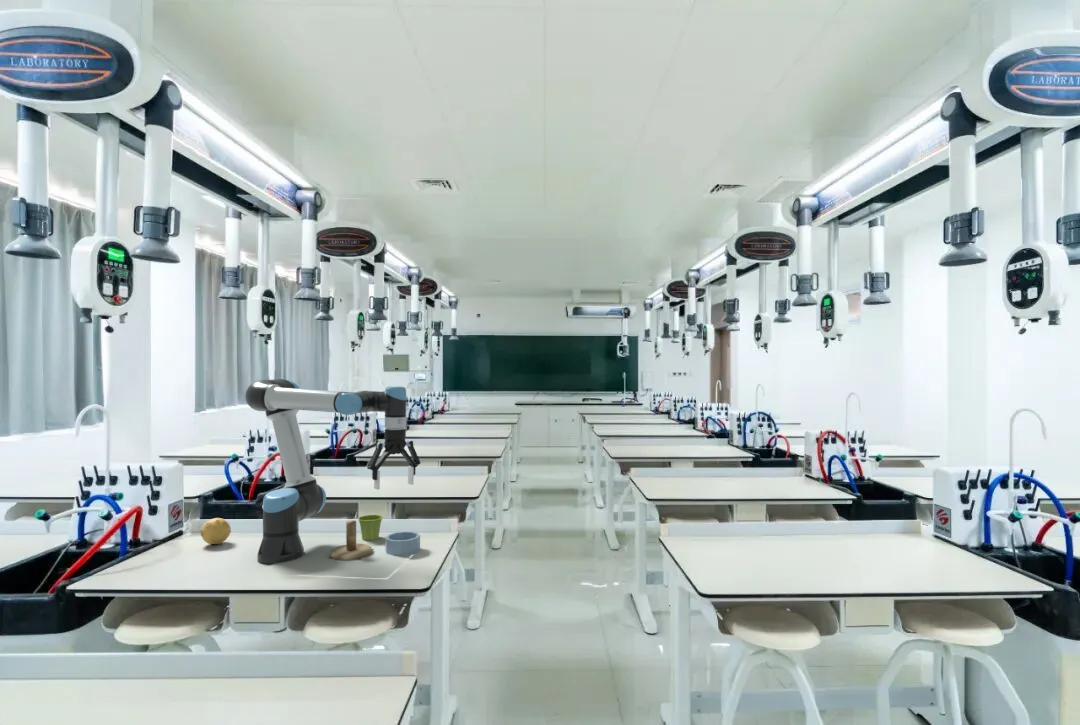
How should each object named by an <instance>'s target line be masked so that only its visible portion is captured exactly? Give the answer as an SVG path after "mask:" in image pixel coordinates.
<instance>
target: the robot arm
mask: <svg viewBox="0 0 1080 725" xmlns="http://www.w3.org/2000/svg"><path fill="white" fill-rule="evenodd" d="M244 395H245V396H244V397H245V401H246V403H247V405H248V406H249V407H250V408H251V409H252V410H254V411H258V412H265V416H266V418H267V419H268V420H270V421H271V422H272V426H273V431H274V434H275V438H276V443H277V447H278V451H279V455H280V459H281V463H282V467H283V471H284V476H285V480H286V482H285V485H284V486H283V488H279V489H275V490H272V491H269V492H268V493H266V494H265V495H264V497H263V500H262V505H261V506H262V508H261V509H262V540H261V543H260V546H259V549H258V552H257V556H256V557H257V558H256V559H257V562H258V563H261V564H264V565H272V564H278V563H286V562H291V561H295V560H297V559H300V558H301V557H303V556H304V555H305V549H304V548H305V546H304V545H303V542H302V539H301V536H300V532H299V530H300V529H299V528H300V527H299V526H300V523H299V522H301V521H303V520H306V519H307V518H313V517H314V516H316V515H318V513H320V512H321V511H322V510H323V508H324V506H326V502H327V494H326V491H325V489H324V487H322V486H321V485H320V484H318V483H317V479H316V477H314V476H312V475H311V471H310V468H309V464H308V459H307V456H306V453H305V447H304V444H303V439H302V435H301V431H300V426H299V422H298V419H297V418H298V417H297V414H298V412H299V411H308V412H309V411H310V412H321V413H322V412H325V413H335V414H337V413H338V414H341V415H344V416H345V415H346V416H353V415H355V414H362V413H369V412H375V413H376V412H377V413H378V412H382V413H384V428H385V429H384V443H383V442H376V443H375V450H374V451H373V453H372V456H371V458H370V460H369V462H368V465H367V467H366V468H367V469H368V470H370V471H372V472H371V473H372V474H371V478H372V480H373V486H374V487H373V488H374V489H375V490H380V489H381V486H380V485H381V470H379V469H380V468H381V467H382V465H383V463H384V462H385V461H386V460H387V458H388V457H389V456H391V455H399V454H401V455H402V457H403V459H405V461H406V462H407V463H408V464H409V465H408V466H407V468H408V469H407V470H408V471H407V484H408V485H411V486H412V485H414V479H415V478H414V476H416V468H417V467H418V465H421V460H420V458H419V456H418V454H417V451H416V449H415V447H414V441H413V440H410V439H407V440H406V437H407V436H406V435H407V433H406V432H407V430H406V427H407V401H408V400H407V387H404V386H399V385H398V386H397V385H396V386H390V385H389V386H386V387H385V390H384V391H379V390H378V391H375V390H373V391H372V390H358V391H357V392H356V391H355V392H353V391H352V392H351V391H350V392H349V391H336V390H334V391H333V390H321V389H308V388H307V389H306V388H300V387H299V385H297V383H295V382H294V381H292V380H290V379H283V378H277V379H259V380H256V381H253V382H252V383H251V384H250V385H249V386H248V387H247V389H246V391H245V394H244ZM405 447H407V449H408V451H407V450H406V449H405ZM383 449H384V450H383ZM382 450H383V452H382ZM408 452H409V453H410V454H409V453H408ZM381 453H382V454H381Z"/></svg>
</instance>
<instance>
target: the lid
mask: <svg viewBox="0 0 1080 725" xmlns="http://www.w3.org/2000/svg"><path fill="white" fill-rule="evenodd" d="M345 523H346V524H345V525H346V526H345V527H346V528H345V530H346V532H345V533H346V535H345V536H346V537H345V539H346V540H345V542H346V543H345V544H343V545H339V546H335V547H334V548H332V549H331V550H330V556H331V557H332V558H334V559H333V560H338V561H339V560H340V561H352V560H353V559H359V558H362V559H363V558H366V557H367V556H370V555H371V554H372V553H373V550H372V549H373V548H372V546H371V545H370V544H368V543H357V520H355V519H354V520H347V521H346V522H345Z"/></svg>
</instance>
